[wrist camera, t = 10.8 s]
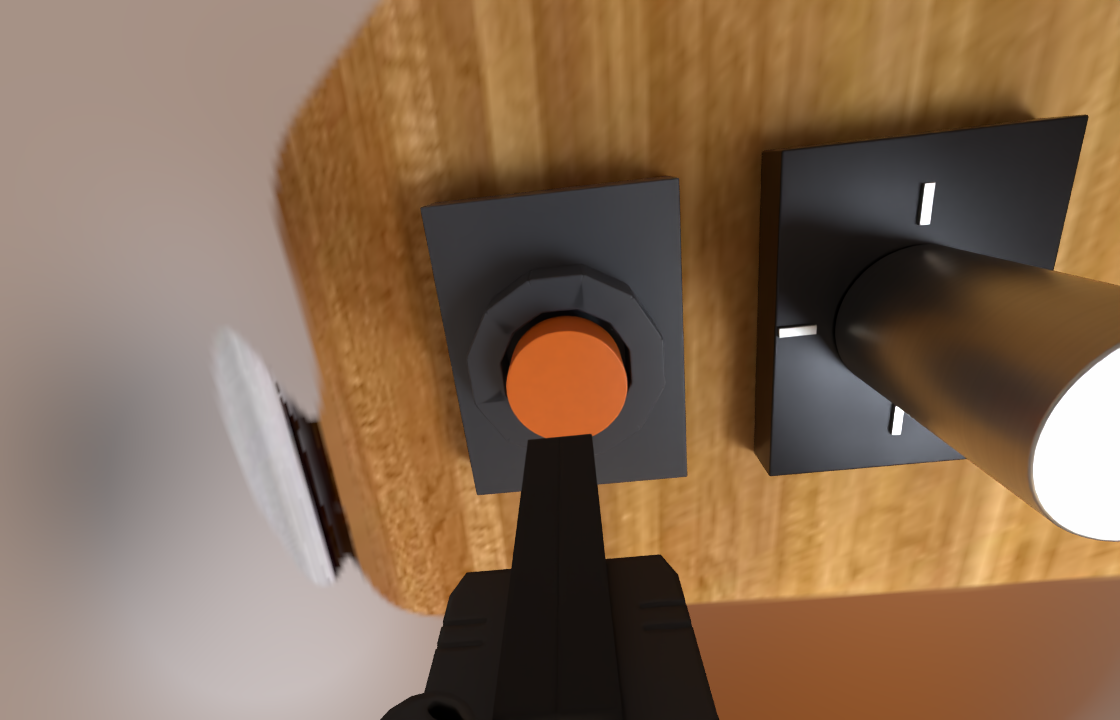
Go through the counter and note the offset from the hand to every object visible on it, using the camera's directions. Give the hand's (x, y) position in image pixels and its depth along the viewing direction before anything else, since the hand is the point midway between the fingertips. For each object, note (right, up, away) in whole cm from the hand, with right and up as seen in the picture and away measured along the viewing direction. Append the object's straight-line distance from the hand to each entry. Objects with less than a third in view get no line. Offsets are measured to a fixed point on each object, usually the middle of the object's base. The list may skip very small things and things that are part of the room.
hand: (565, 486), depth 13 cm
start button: (0, +3, +6) cm, 7 cm away
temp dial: (+13, +5, +7) cm, 16 cm away
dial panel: (+13, +5, +9) cm, 17 cm away
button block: (0, +4, +10) cm, 11 cm away
